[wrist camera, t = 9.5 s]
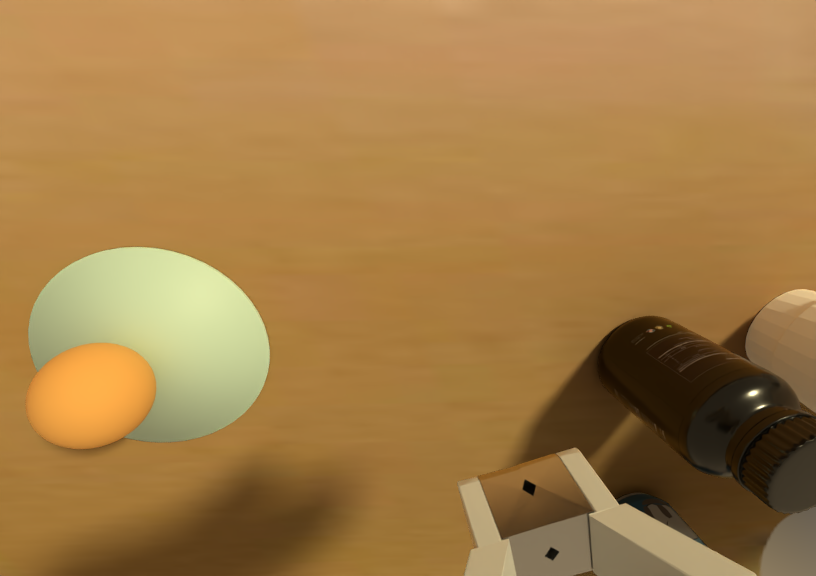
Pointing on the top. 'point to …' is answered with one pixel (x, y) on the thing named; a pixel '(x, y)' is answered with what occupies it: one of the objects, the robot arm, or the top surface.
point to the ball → (90, 395)
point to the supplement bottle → (715, 409)
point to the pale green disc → (161, 333)
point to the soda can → (659, 512)
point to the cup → (787, 342)
